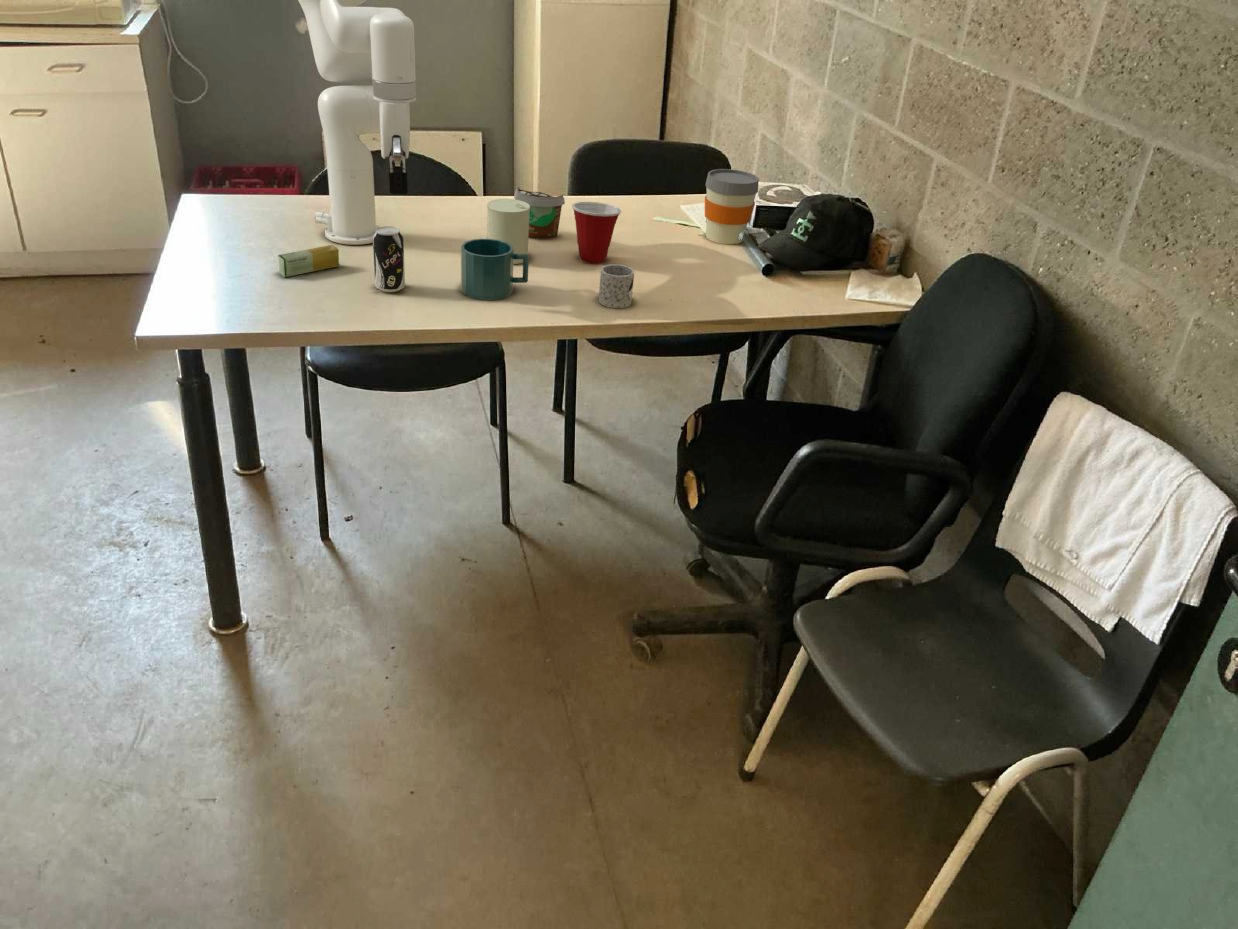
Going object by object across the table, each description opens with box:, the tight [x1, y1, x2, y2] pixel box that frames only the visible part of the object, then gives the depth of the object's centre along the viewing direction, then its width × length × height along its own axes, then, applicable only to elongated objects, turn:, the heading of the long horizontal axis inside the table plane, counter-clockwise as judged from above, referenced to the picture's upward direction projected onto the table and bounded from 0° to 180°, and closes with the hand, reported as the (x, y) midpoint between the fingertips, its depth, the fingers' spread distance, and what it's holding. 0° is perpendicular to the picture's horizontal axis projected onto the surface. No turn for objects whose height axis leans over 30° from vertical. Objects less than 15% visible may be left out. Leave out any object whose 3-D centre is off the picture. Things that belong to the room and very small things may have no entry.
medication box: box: [277, 244, 340, 279], centre depth 195 cm, size 12×3×4 cm, turn 131°
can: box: [486, 198, 530, 265], centre depth 209 cm, size 9×9×12 cm
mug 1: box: [460, 238, 530, 301], centre depth 193 cm, size 13×10×9 cm
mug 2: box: [598, 263, 635, 309], centre depth 195 cm, size 10×7×7 cm, turn 17°
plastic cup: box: [571, 201, 622, 265], centre depth 212 cm, size 11×11×12 cm
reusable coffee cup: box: [704, 168, 760, 245], centre depth 232 cm, size 13×13×15 cm
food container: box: [513, 185, 566, 240], centre depth 223 cm, size 12×6×10 cm, turn 68°
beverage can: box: [372, 225, 406, 293], centre depth 188 cm, size 6×6×12 cm
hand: (398, 185), depth 182 cm, fingers open, 9 cm apart
